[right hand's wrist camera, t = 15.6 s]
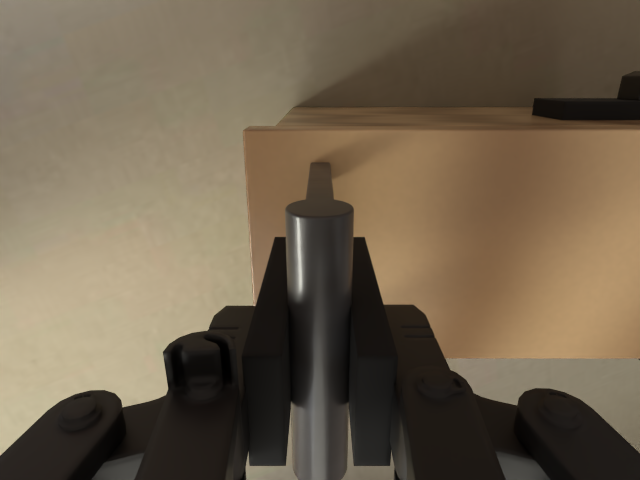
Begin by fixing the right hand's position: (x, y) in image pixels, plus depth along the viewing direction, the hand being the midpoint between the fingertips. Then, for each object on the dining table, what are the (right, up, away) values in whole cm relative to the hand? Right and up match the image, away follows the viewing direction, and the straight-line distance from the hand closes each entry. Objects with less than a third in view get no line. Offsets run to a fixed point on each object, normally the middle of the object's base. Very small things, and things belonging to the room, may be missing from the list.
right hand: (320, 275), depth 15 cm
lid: (+6, +1, +3) cm, 6 cm away
